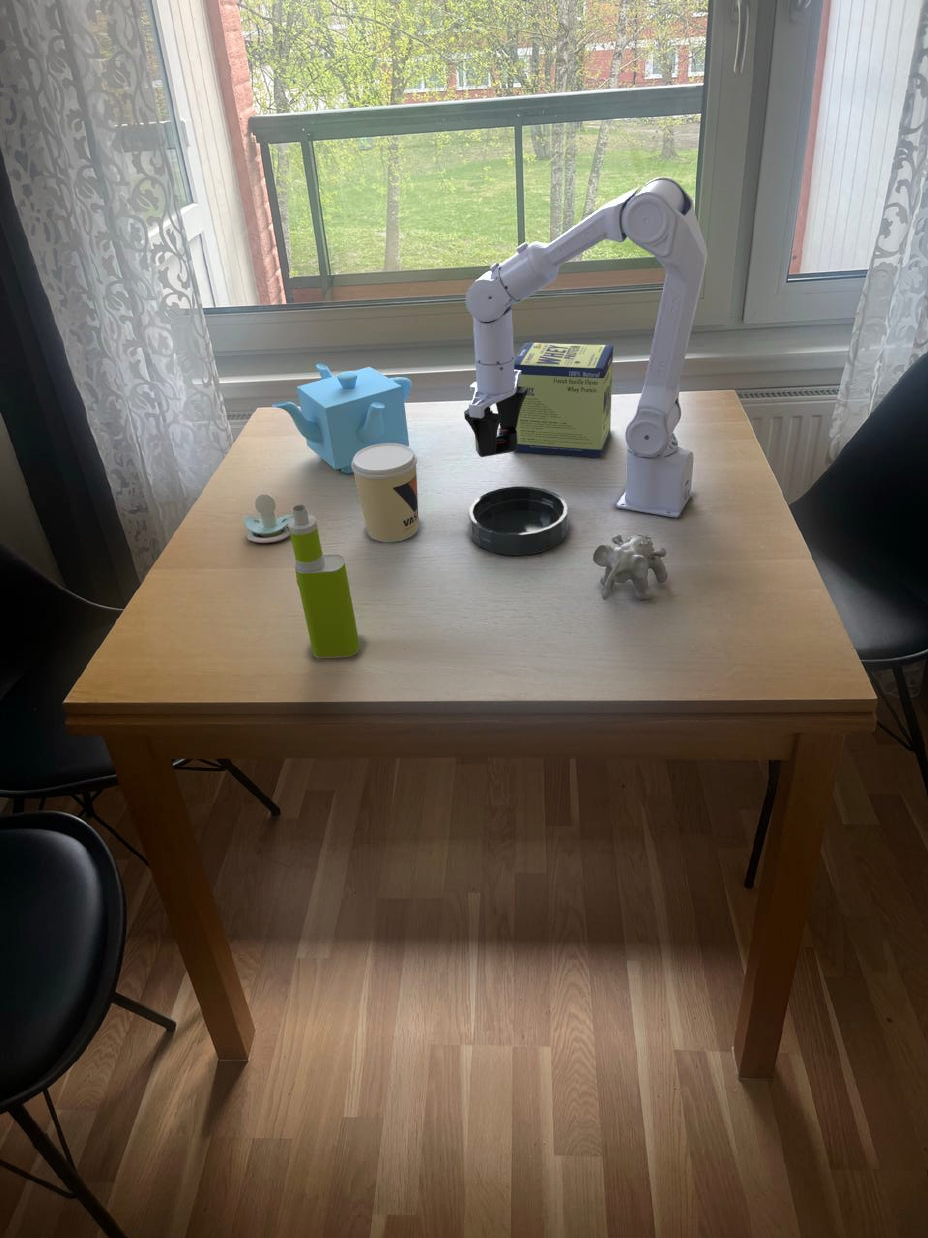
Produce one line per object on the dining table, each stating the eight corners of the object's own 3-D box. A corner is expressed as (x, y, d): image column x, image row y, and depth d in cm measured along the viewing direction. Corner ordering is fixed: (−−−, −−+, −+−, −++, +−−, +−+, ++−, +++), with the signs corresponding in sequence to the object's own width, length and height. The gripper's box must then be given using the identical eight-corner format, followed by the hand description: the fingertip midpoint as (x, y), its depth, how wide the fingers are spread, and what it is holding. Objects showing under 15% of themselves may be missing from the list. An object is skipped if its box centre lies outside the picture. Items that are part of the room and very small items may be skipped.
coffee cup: (415, 546, 130) (407, 472, 123) (354, 543, 132) (342, 470, 125) (430, 514, 137) (422, 442, 130) (371, 512, 139) (361, 441, 132)
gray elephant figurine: (668, 572, 120) (672, 523, 116) (661, 625, 111) (665, 574, 106) (599, 567, 122) (600, 518, 118) (586, 618, 113) (587, 567, 109)
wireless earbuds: (523, 451, 140) (523, 432, 138) (479, 459, 139) (478, 439, 137) (515, 439, 143) (514, 420, 141) (472, 446, 142) (470, 427, 140)
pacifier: (290, 544, 133) (297, 523, 138) (282, 508, 129) (289, 487, 134) (242, 547, 134) (250, 525, 138) (232, 510, 130) (241, 490, 134)
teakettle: (423, 435, 161) (415, 354, 152) (393, 484, 146) (382, 398, 138) (324, 431, 165) (311, 353, 156) (285, 478, 151) (268, 395, 142)
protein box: (602, 458, 149) (605, 367, 140) (511, 452, 153) (508, 363, 144) (612, 431, 157) (614, 344, 148) (525, 426, 161) (522, 341, 152)
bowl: (581, 516, 134) (581, 494, 132) (545, 564, 124) (545, 542, 122) (495, 500, 139) (494, 480, 137) (454, 546, 129) (452, 524, 127)
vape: (313, 640, 113) (284, 500, 101) (360, 638, 113) (336, 497, 101) (309, 659, 110) (278, 517, 98) (358, 656, 110) (332, 514, 98)
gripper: (490, 339, 139) (494, 421, 147) (448, 372, 129) (454, 459, 137) (532, 343, 136) (534, 427, 144) (492, 378, 126) (496, 465, 134)
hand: (498, 443), depth 140 cm, fingers closed on wireless earbuds, 7 cm apart
